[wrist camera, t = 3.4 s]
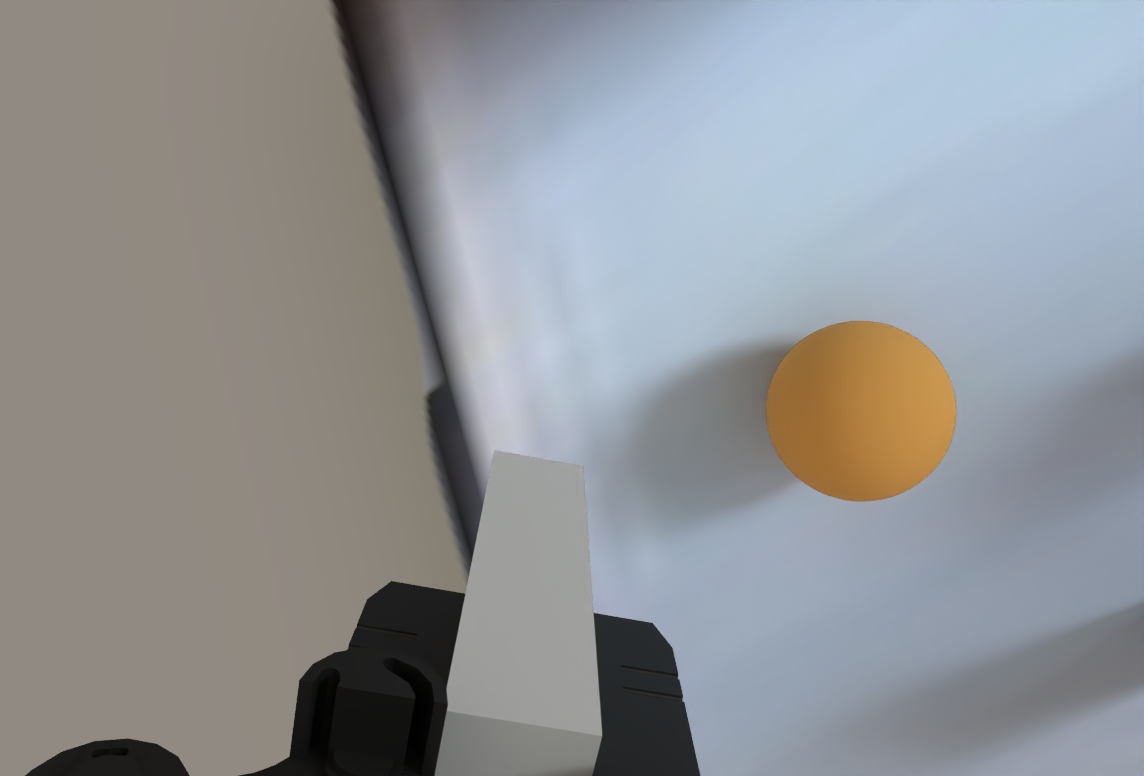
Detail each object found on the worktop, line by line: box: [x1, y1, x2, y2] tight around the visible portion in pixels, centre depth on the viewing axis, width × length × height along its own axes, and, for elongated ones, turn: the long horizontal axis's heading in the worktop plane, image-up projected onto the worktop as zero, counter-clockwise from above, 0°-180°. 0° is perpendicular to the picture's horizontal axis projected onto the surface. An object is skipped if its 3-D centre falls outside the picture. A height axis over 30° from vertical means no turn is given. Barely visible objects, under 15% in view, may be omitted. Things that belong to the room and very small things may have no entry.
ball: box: [766, 321, 956, 501], centre depth 26 cm, size 6×6×6 cm
